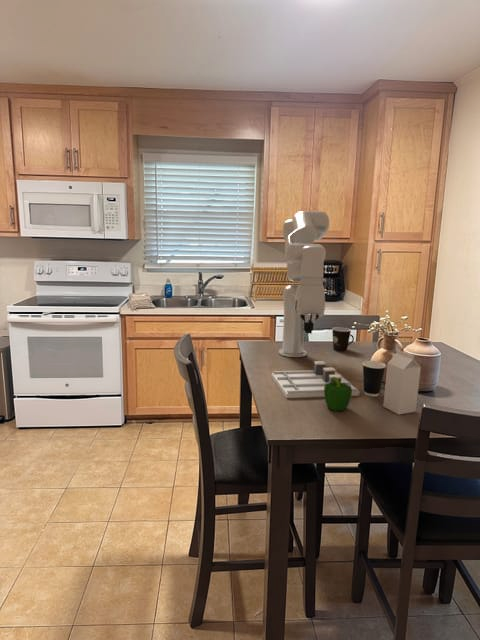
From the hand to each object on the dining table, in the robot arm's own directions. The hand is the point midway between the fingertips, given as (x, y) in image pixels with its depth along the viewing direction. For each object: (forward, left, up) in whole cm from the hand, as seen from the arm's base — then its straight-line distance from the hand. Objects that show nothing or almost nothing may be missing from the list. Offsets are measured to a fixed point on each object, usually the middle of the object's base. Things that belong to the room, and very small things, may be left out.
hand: (308, 332), depth 161 cm
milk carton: (+25, +24, -20) cm, 40 cm away
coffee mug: (-45, +32, -20) cm, 59 cm away
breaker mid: (+1, +9, -18) cm, 20 cm away
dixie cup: (+11, +21, -20) cm, 31 cm away
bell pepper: (+22, +4, -20) cm, 30 cm away
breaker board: (+1, +3, -20) cm, 20 cm away
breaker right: (+9, +8, -18) cm, 22 cm away
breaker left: (-7, +8, -18) cm, 21 cm away
